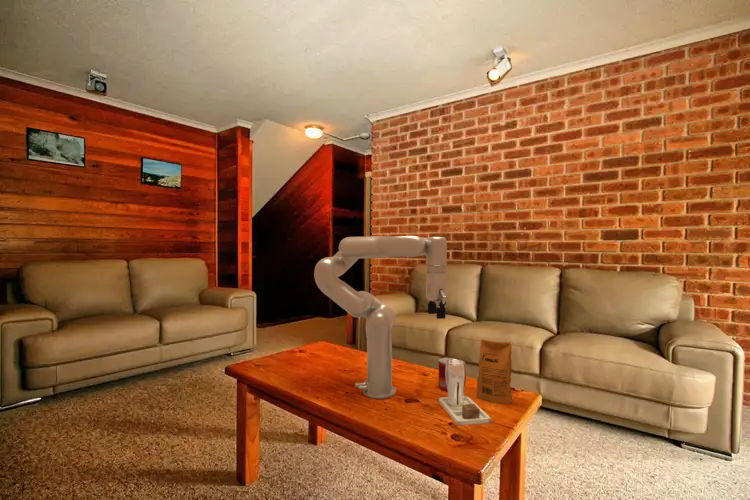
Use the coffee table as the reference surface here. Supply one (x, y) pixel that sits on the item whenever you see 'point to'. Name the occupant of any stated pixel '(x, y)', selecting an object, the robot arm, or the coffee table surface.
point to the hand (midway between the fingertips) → (436, 316)
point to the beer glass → (455, 382)
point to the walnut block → (470, 411)
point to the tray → (457, 413)
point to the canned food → (442, 373)
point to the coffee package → (494, 372)
